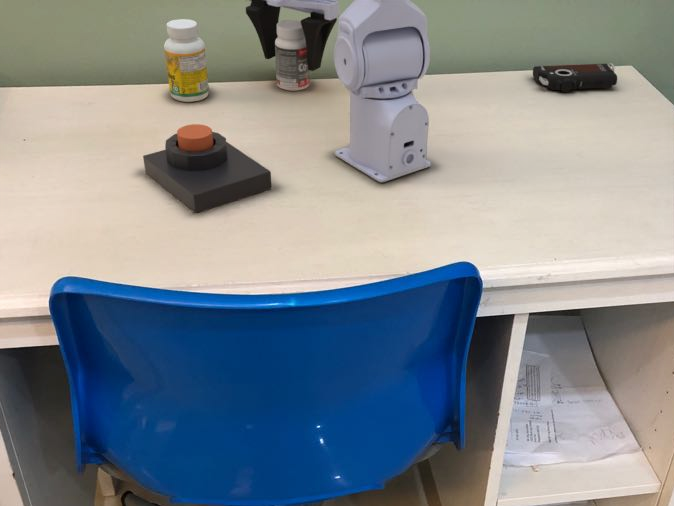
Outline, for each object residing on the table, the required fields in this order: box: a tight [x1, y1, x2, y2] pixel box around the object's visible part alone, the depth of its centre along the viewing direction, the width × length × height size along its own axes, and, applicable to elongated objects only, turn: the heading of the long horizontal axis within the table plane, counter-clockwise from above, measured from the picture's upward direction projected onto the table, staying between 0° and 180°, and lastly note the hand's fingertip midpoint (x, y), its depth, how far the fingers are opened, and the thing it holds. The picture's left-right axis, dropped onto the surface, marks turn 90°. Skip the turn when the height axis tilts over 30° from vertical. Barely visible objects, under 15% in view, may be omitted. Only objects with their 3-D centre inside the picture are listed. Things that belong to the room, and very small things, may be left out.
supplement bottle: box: [163, 18, 210, 103], centre depth 118 cm, size 5×5×10 cm
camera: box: [532, 62, 618, 93], centre depth 126 cm, size 6×3×11 cm
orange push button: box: [176, 123, 214, 151], centre depth 100 cm, size 4×4×2 cm
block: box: [142, 131, 272, 214], centre depth 100 cm, size 12×10×4 cm
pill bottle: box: [275, 19, 311, 92], centre depth 122 cm, size 5×5×8 cm
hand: (292, 62), depth 122 cm, fingers open, 7 cm apart
